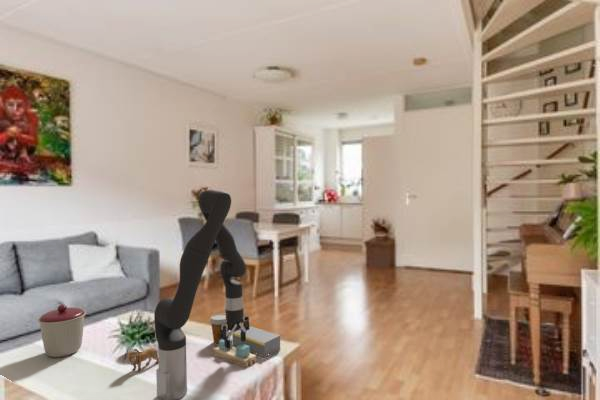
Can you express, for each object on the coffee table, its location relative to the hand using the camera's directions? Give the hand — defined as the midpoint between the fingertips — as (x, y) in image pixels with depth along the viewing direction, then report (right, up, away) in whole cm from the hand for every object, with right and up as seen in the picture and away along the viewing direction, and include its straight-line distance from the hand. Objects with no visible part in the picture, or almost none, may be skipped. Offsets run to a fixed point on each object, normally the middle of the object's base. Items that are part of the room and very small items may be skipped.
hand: (235, 344), depth 161 cm
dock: (+8, -5, +10) cm, 14 cm away
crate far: (-5, -3, +3) cm, 7 cm away
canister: (-77, -6, +7) cm, 77 cm away
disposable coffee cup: (-10, -5, +16) cm, 19 cm away
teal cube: (+4, -3, -3) cm, 6 cm away
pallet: (-1, -6, 0) cm, 6 cm away
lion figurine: (-35, -7, -9) cm, 37 cm away
